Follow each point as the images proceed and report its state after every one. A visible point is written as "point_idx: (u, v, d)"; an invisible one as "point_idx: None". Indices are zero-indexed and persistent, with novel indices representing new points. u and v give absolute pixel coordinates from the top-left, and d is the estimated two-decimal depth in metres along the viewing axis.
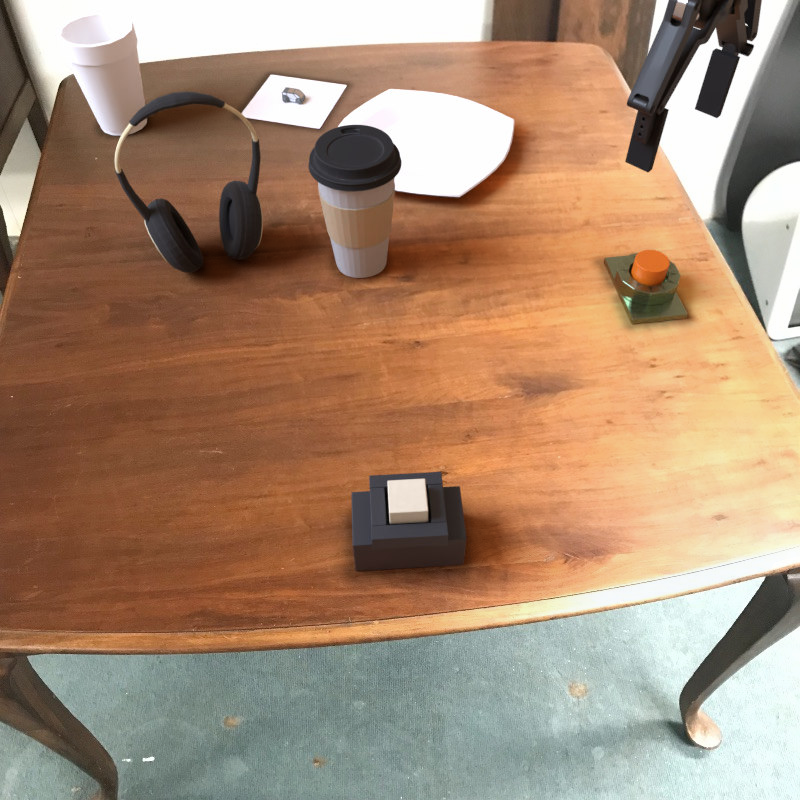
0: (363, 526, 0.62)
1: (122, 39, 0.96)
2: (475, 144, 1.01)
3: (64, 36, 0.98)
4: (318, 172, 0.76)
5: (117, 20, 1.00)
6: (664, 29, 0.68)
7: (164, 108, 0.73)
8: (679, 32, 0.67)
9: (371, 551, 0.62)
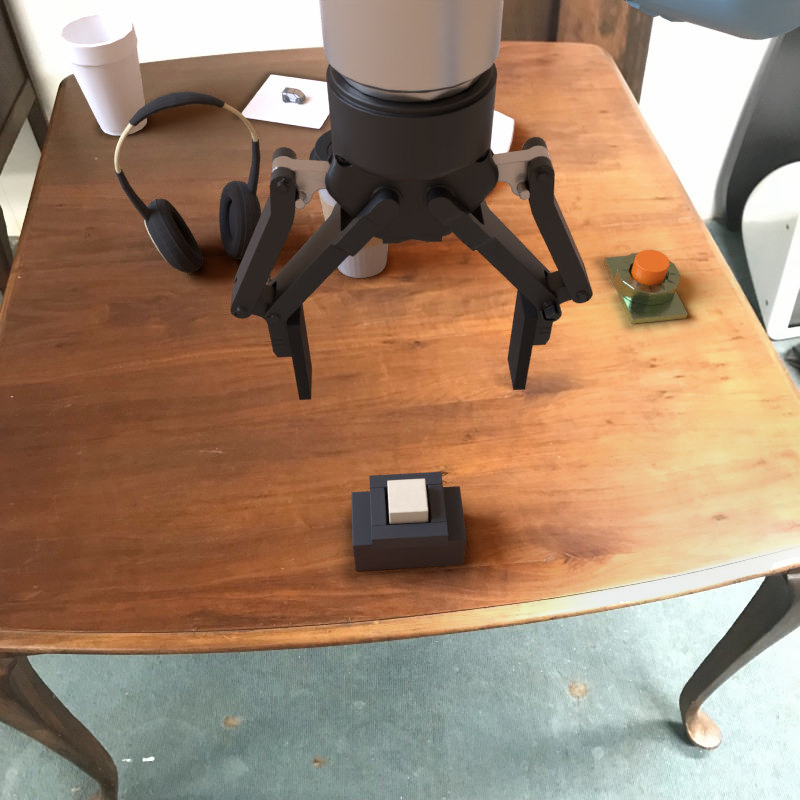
0: (363, 526, 0.62)
1: (122, 39, 0.96)
2: None
3: (64, 36, 0.98)
4: None
5: (117, 20, 1.00)
6: (268, 201, 0.40)
7: (164, 108, 0.73)
8: (268, 216, 0.39)
9: (371, 551, 0.62)
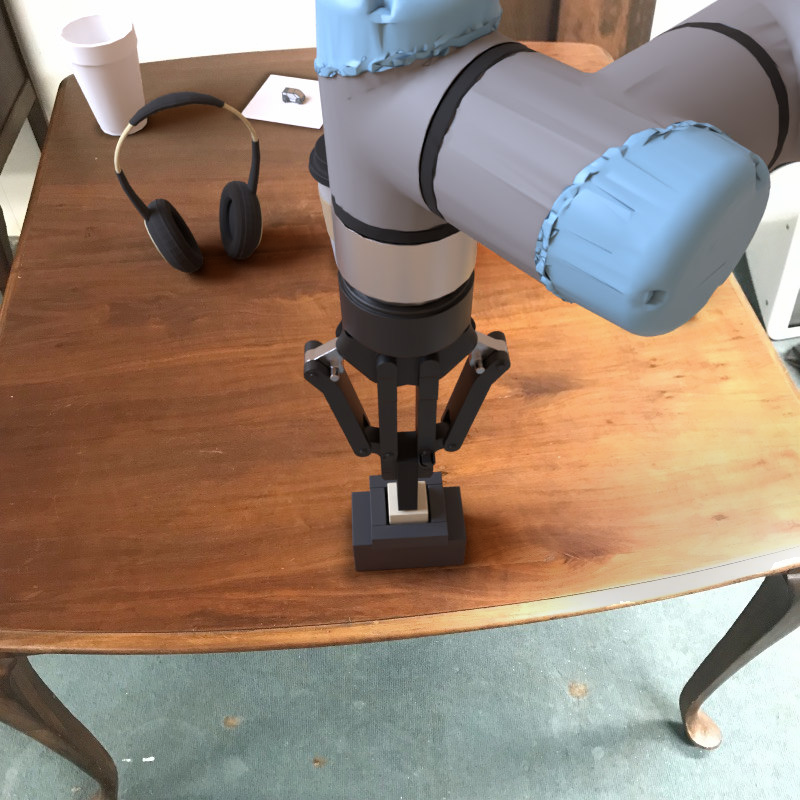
0: (363, 526, 0.62)
1: (122, 39, 0.96)
2: None
3: (64, 36, 0.98)
4: (318, 172, 0.76)
5: (117, 20, 1.00)
6: None
7: (164, 108, 0.73)
8: None
9: (371, 551, 0.62)
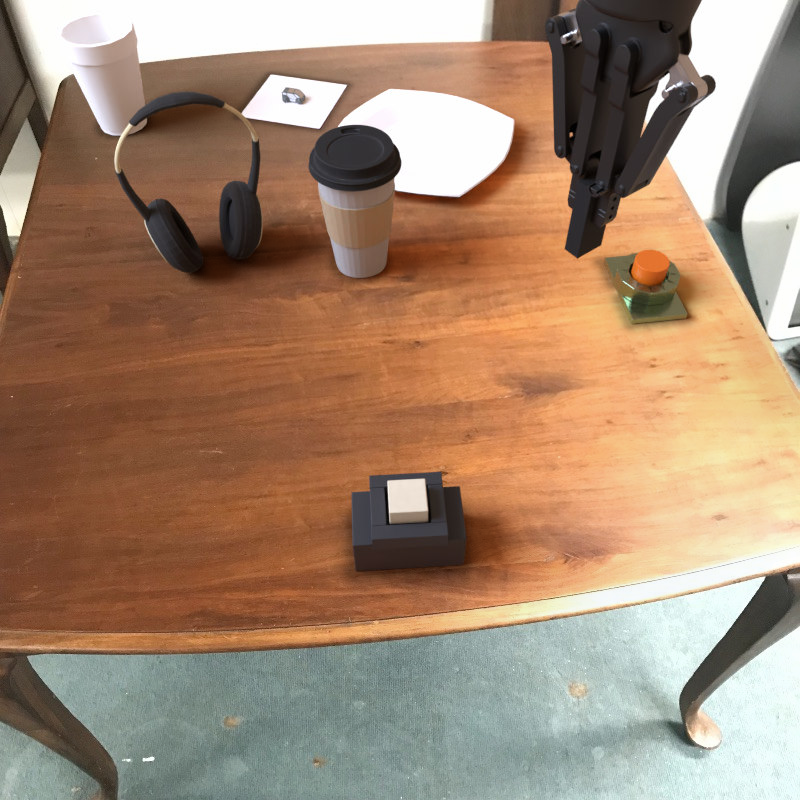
0: (363, 526, 0.62)
1: (122, 39, 0.96)
2: (475, 144, 1.01)
3: (64, 36, 0.98)
4: (318, 172, 0.76)
5: (117, 20, 1.00)
6: None
7: (164, 108, 0.73)
8: None
9: (371, 551, 0.62)
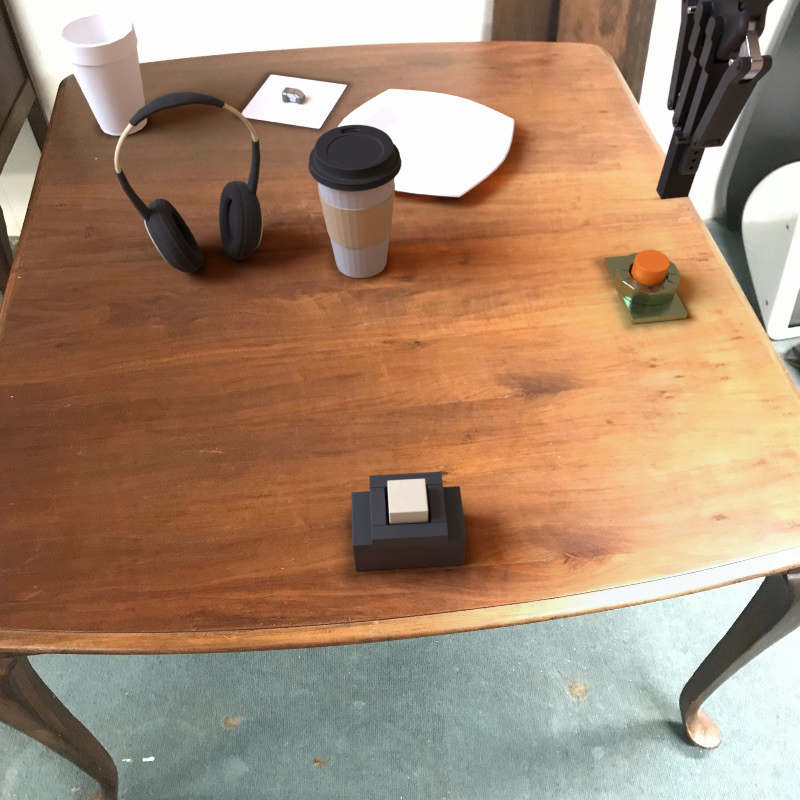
0: (363, 526, 0.62)
1: (122, 39, 0.96)
2: (475, 144, 1.01)
3: (64, 36, 0.98)
4: (318, 172, 0.76)
5: (117, 20, 1.00)
6: None
7: (164, 108, 0.73)
8: None
9: (371, 551, 0.62)
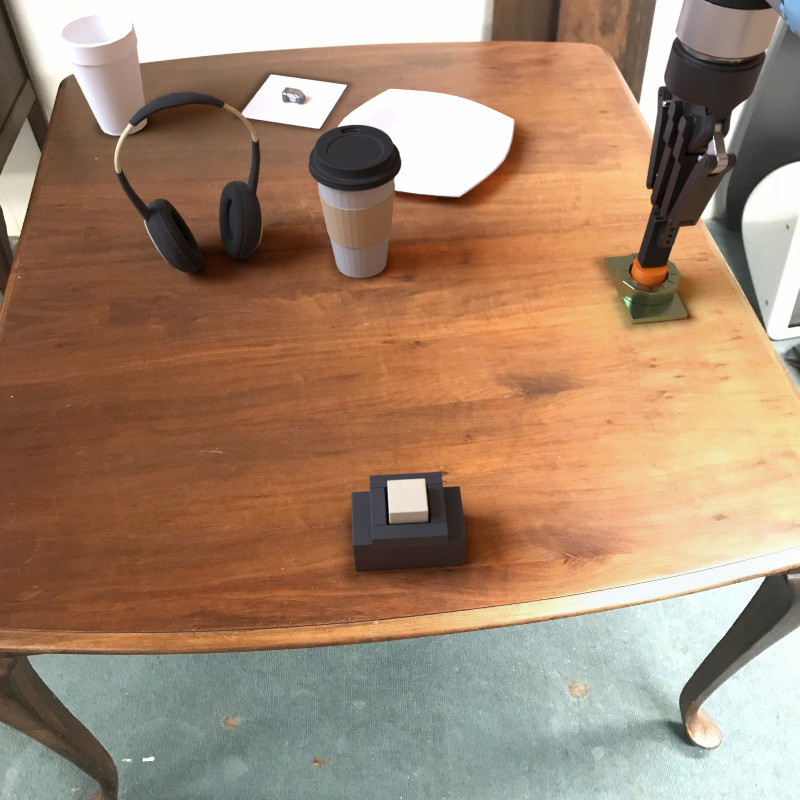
0: (363, 526, 0.62)
1: (122, 39, 0.96)
2: (475, 144, 1.01)
3: (64, 36, 0.98)
4: (318, 172, 0.76)
5: (117, 20, 1.00)
6: None
7: (164, 108, 0.73)
8: None
9: (371, 551, 0.62)
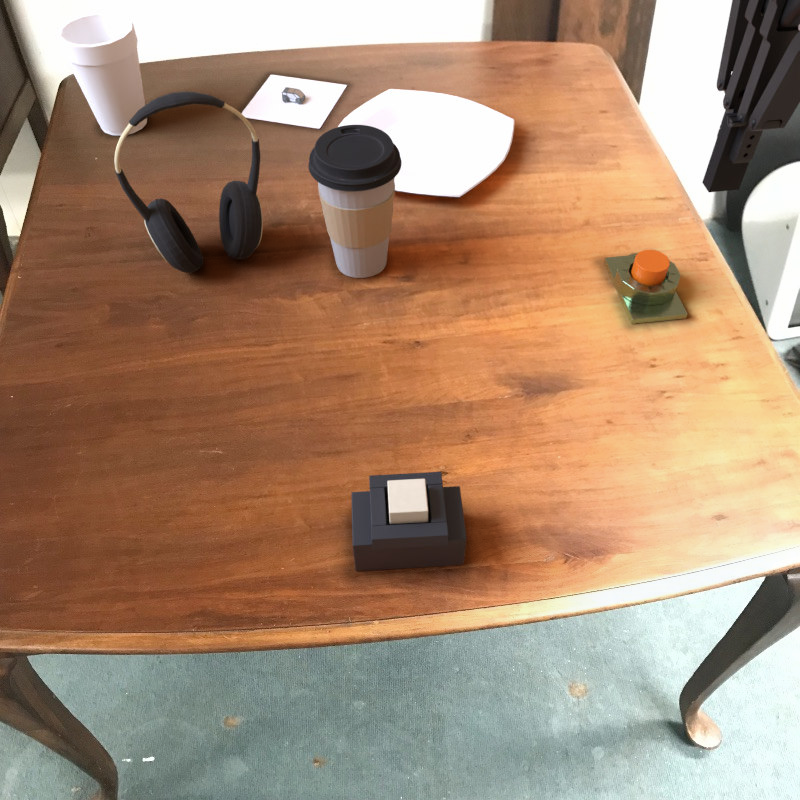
0: (363, 526, 0.62)
1: (122, 39, 0.96)
2: (475, 144, 1.01)
3: (64, 36, 0.98)
4: (318, 172, 0.76)
5: (117, 20, 1.00)
6: None
7: (164, 108, 0.73)
8: None
9: (371, 551, 0.62)
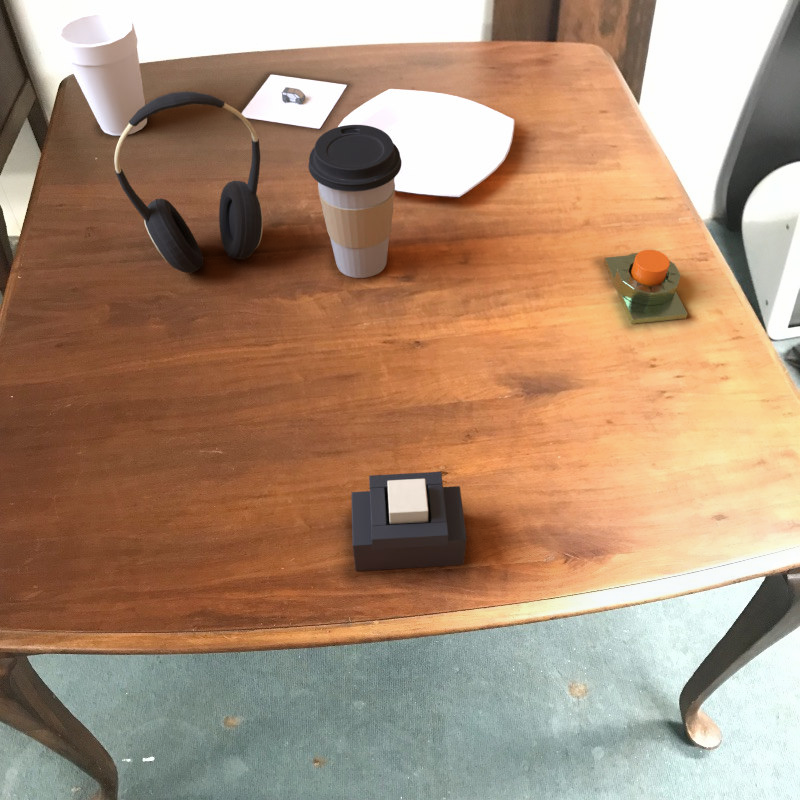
0: (363, 526, 0.62)
1: (122, 39, 0.96)
2: (475, 144, 1.01)
3: (64, 36, 0.98)
4: (318, 172, 0.76)
5: (117, 20, 1.00)
6: None
7: (164, 108, 0.73)
8: None
9: (371, 551, 0.62)
